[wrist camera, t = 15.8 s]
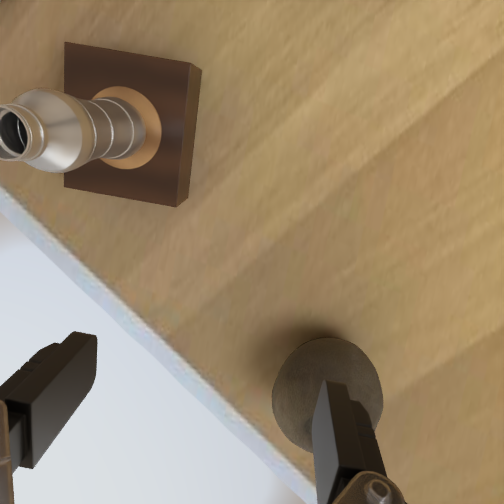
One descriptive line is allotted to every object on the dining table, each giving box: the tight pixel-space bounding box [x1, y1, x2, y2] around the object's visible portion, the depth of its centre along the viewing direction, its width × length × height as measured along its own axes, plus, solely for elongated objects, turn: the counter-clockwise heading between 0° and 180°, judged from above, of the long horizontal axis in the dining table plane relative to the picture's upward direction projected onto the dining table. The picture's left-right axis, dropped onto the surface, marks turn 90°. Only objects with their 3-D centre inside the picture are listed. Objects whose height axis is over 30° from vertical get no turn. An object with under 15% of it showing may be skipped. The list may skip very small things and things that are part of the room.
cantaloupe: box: [272, 338, 383, 453], centre depth 52 cm, size 14×14×15 cm
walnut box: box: [64, 42, 202, 207], centre depth 47 cm, size 16×14×6 cm
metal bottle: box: [0, 88, 146, 173], centre depth 35 cm, size 6×7×20 cm
